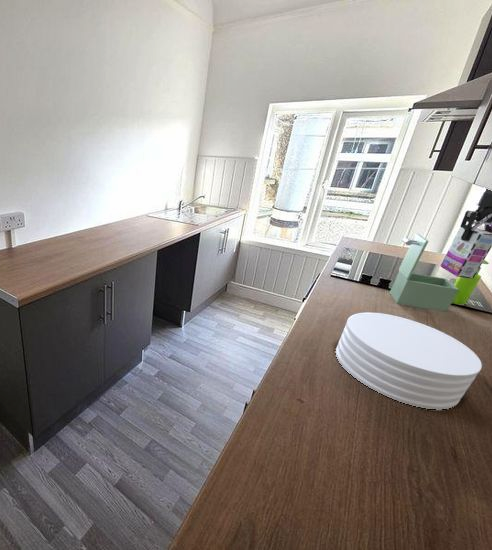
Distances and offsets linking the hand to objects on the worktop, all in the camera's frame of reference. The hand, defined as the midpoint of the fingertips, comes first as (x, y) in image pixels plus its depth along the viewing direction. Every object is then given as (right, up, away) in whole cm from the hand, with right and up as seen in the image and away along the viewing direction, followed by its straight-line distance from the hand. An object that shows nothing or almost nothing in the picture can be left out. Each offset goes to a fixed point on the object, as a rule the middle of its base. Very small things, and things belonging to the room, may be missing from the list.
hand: (473, 240), depth 106 cm
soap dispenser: (+18, -24, +22) cm, 37 cm away
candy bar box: (0, -12, +5) cm, 13 cm away
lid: (-6, -5, +15) cm, 17 cm away
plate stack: (-47, -41, -19) cm, 65 cm away
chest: (-1, -24, +21) cm, 32 cm away
